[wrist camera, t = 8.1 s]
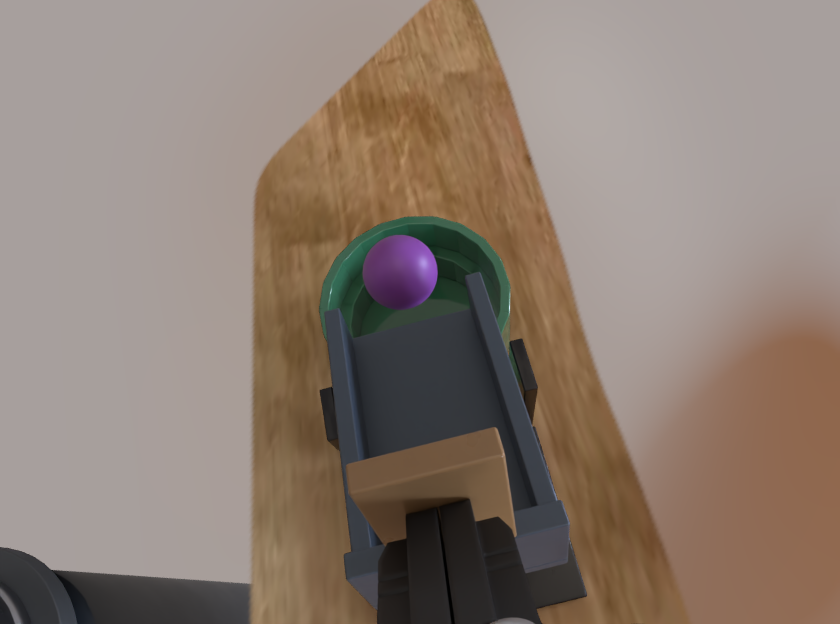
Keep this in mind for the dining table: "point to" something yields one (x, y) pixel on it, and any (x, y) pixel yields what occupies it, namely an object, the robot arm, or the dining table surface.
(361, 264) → the bowl
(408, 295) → the ball
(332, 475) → the dining table surface
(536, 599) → the stand
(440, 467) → the chute
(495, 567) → the robot arm
